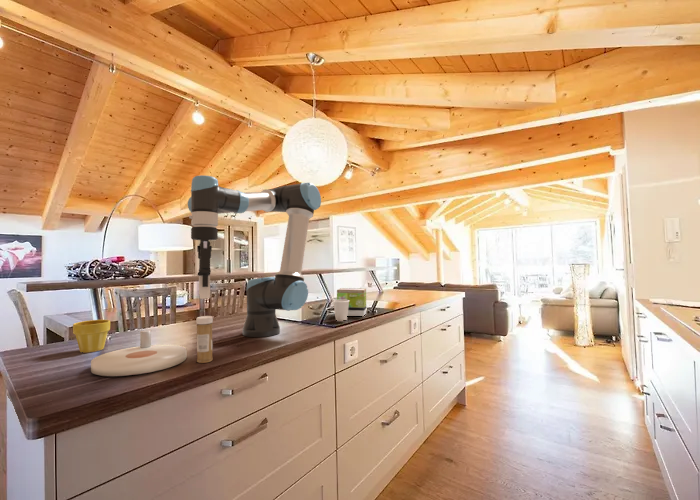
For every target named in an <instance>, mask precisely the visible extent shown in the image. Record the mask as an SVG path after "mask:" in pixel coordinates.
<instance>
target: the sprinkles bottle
mask: <svg viewBox="0 0 700 500" xmlns="http://www.w3.org/2000/svg"><path fill="white" fill-rule="evenodd" d="M195 321H196V322H195V323H196V354H197V355H196V362H197V363H198V364H205V363H210V362H212V361H213V359H214V358H213V322H214V319H213V316H212V315H202V316H198V317H196V320H195Z"/></svg>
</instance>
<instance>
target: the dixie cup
mask: <svg viewBox="0 0 700 500" xmlns="http://www.w3.org/2000/svg"><path fill="white" fill-rule="evenodd" d="M332 303H333V307H334V308H333V309H334V316H335V321H336V320H337V321H336V322H344V321H343V320H347V321H348V317H347V316H348V306H349V300H337V299H334V300H333V301H332Z"/></svg>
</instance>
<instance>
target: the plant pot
mask: <svg viewBox="0 0 700 500" xmlns="http://www.w3.org/2000/svg"><path fill="white" fill-rule="evenodd" d="M110 330H111V320H110V319H91V320H82V321H79V322H78V321H77V322H75V323H73V324H72V333H73V335H75V338H76V342H77V345H78V346H77V347H78V349H79V352H80V353H82V352H83V353H95V352H99V351H102V350H104V349H105V345H106V340H107V337H108V332H109V331H110ZM83 353H82V354H83Z"/></svg>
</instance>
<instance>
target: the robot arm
mask: <svg viewBox="0 0 700 500" xmlns="http://www.w3.org/2000/svg"><path fill="white" fill-rule="evenodd" d="M190 187H191V188H190V193H191V195H190V197H189V198H188V200H187V207H188V211H189V212H190V214H191V215H189V216H188V218H189V220H190V219H191V223H190V224H191V226H192V227H191V228H190V238H191V240H192V241H200V242H199V245H197V247H196V248H197V259H198V260H199V263H198V265H199V267H198V268H199V269H198V272H197V276H198V296H199V299H200V300H205V299H207V300H209V299H211V272H212V271H211V258H212V248H213V247H212V245H211V241H217V240H218V239H219V238H218V234H219V233H218V228H217V227H218V226H219V214H220V215H221V214H231V213H233V214H244V213H246V212H255V211H256V212H257V211H264V212H266V213H273V212H275V213H286V214H287V215H288V219H287V226H286V232H285V238H284V243H283V244H284V245H283V250H282V256H281V261H280V262H281V263H280V269H279V271H278V272H277V273H275V274H274V275H275V276H268V277H267V276H266V277H259V278H253V279H252V278H251V279H249V280H248V281H247V283H246V289H245V290H246V317H245V321H244V324H243V327H242V336H243V337H246V338H247V337H248V338H263V337H272V336H276V335H279V334H280V332H281V329H280V328H281V326H280V324H279V321H278V318H277V317H278V316H277V313H276V310H280V311H298V310H300V309H301V308H302V307H303V306H304V305H305V304H306V302H307V300H308V296H309V289H308V285H307V283H306V282H305V277H304V276H303V275H302V271H303V263H304V256H305V250H306V249H305V248H306V243H307V242H306V241H307V236H308V231H309V230H308V229H309V223H310V220H311V219H312V218H313V217H314V213H315V211H316V210H318V209H319V208H320V207H321V204H322V198H321V192H320V191H319V188H318V187H317V186H316V185H315V184H314V183H312V182H301V183H296V184H289V185H282V186H279V187H274V188H269V189H262V190H261V191H252V192H250V191H248V192H243V191H240V190H238V189H232V188H227V187H223V186H219V180H218V179H217V178H216V177H215V176H212V175H201V174H200V175H195V176H193V178H192V179H191V186H190Z"/></svg>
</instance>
